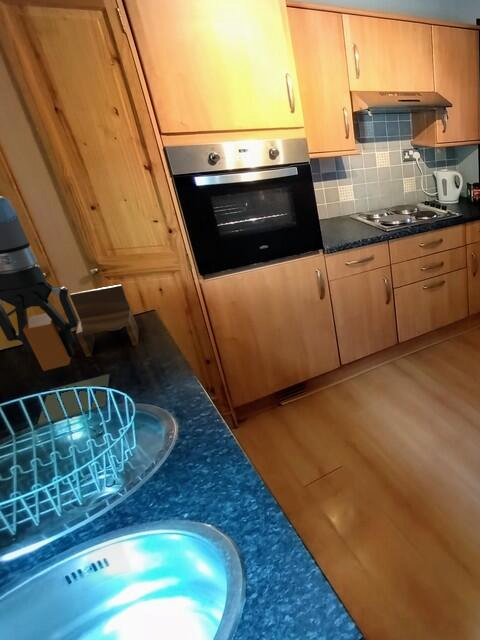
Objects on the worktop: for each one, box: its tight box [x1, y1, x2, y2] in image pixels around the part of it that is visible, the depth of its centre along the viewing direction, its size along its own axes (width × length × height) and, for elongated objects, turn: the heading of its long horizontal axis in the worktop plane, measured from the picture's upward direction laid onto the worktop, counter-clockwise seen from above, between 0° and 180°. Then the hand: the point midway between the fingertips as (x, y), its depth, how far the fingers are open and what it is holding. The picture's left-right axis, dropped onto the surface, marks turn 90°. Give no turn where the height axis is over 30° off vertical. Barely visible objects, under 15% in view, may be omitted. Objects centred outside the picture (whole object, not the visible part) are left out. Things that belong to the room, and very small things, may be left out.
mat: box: [37, 374, 110, 426], centre depth 113 cm, size 16×12×1 cm
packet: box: [23, 312, 72, 372], centre depth 107 cm, size 8×4×11 cm, turn 37°
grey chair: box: [69, 283, 139, 358], centre depth 136 cm, size 12×12×16 cm
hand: (57, 357), depth 109 cm, fingers closed on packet, 4 cm apart
